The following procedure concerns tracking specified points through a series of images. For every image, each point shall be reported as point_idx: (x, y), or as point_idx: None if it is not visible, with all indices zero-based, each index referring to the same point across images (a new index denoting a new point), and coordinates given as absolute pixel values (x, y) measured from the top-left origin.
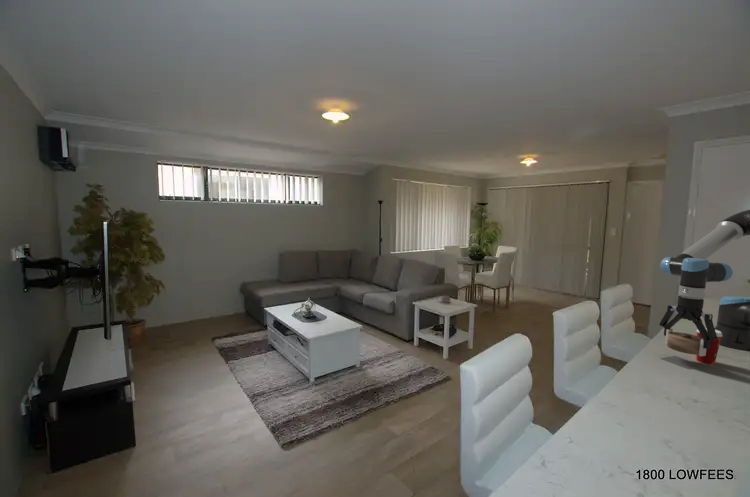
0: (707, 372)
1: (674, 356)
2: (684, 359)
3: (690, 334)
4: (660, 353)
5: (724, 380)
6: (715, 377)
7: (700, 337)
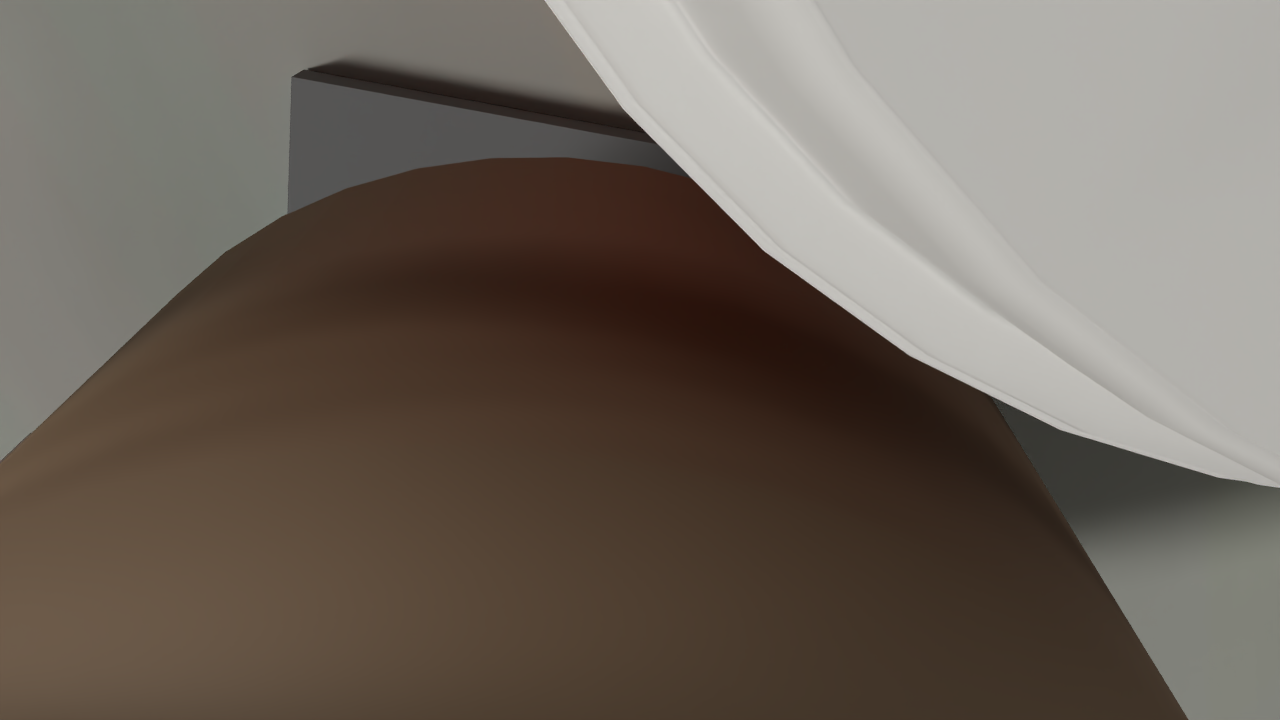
0: (1017, 426)
1: (313, 171)
2: (523, 157)
3: (376, 505)
4: (20, 149)
5: (1274, 552)
6: (1149, 549)
7: (1007, 611)
